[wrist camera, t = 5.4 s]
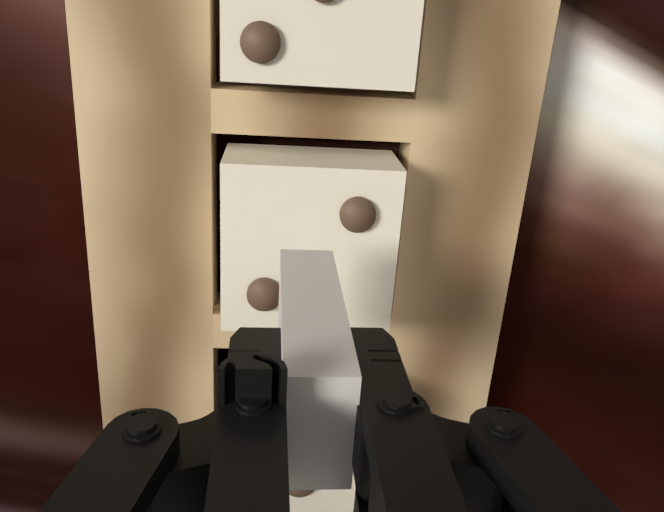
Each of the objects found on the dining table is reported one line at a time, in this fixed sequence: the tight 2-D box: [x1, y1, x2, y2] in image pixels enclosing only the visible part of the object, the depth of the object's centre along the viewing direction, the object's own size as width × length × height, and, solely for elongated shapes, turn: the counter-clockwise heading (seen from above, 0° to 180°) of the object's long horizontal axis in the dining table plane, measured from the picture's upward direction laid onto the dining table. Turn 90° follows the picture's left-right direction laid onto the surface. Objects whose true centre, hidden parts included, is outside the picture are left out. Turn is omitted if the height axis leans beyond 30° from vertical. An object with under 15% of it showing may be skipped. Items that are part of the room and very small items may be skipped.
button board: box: [65, 0, 561, 429], centre depth 24 cm, size 16×26×2 cm, turn 176°
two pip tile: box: [220, 143, 407, 333], centre depth 23 cm, size 6×6×3 cm
